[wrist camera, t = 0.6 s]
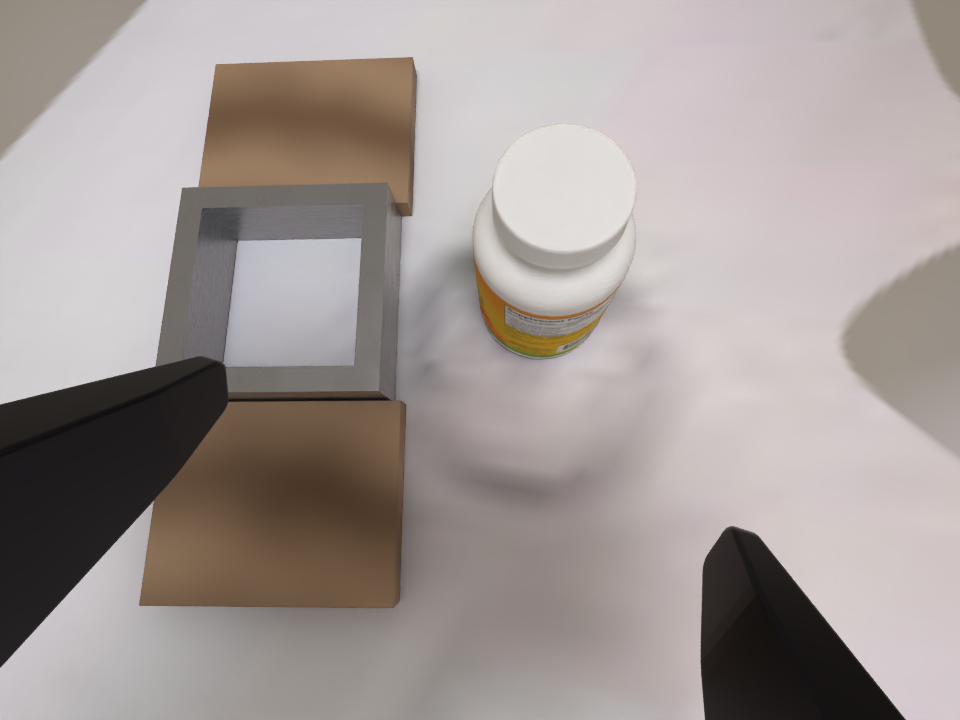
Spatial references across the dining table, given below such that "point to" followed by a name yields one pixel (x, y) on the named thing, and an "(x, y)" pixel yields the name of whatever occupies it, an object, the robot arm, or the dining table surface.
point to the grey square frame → (284, 215)
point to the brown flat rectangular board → (294, 424)
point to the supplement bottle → (554, 238)
